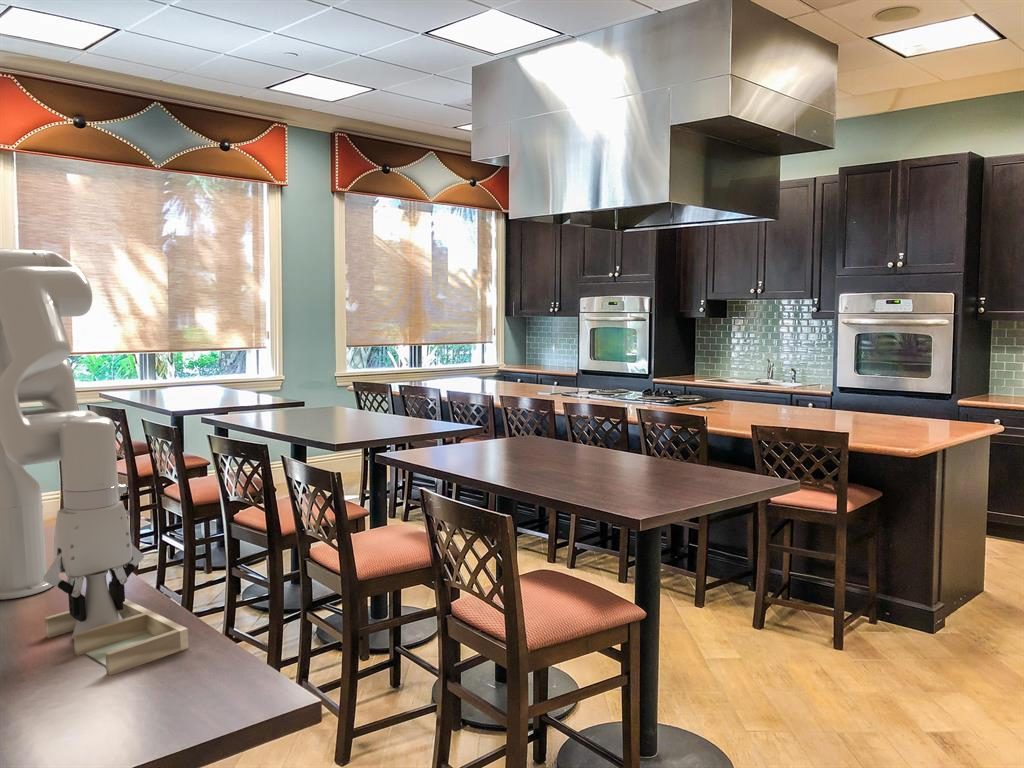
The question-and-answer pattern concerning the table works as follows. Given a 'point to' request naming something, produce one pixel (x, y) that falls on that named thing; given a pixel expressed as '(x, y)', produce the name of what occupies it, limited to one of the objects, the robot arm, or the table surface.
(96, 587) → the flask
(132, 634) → the comb rack
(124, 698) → the table surface
